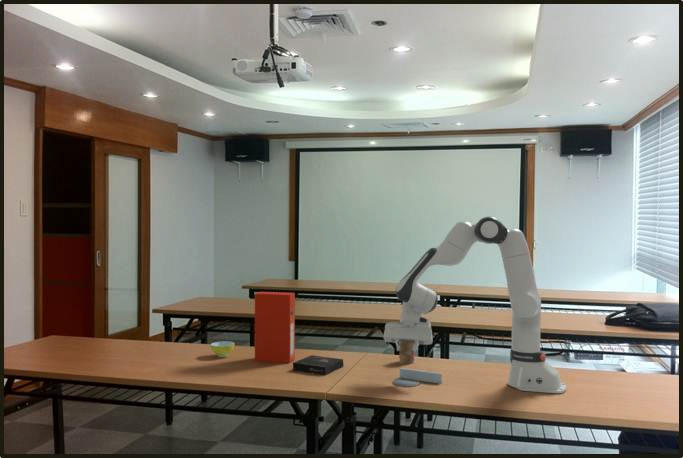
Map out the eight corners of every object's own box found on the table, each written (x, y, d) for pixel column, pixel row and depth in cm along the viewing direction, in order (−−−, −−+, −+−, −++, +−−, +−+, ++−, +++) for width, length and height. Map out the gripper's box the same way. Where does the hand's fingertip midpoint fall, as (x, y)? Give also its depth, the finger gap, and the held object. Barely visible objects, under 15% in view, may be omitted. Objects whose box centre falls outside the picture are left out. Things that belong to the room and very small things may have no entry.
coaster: (423, 381, 233) (423, 380, 233) (414, 388, 223) (414, 387, 223) (398, 378, 238) (398, 377, 238) (388, 384, 228) (388, 384, 228)
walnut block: (412, 361, 232) (412, 342, 232) (410, 364, 228) (410, 344, 228) (401, 360, 233) (401, 341, 233) (399, 363, 230) (399, 343, 229)
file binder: (289, 363, 263) (289, 294, 263) (254, 361, 267) (254, 293, 266) (294, 359, 271) (294, 292, 270) (260, 357, 274) (260, 291, 274)
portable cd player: (343, 367, 257) (343, 358, 257) (325, 376, 242) (325, 367, 242) (312, 363, 265) (312, 354, 265) (292, 371, 250) (292, 362, 250)
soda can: (413, 364, 262) (413, 338, 262) (398, 363, 264) (398, 337, 264) (414, 360, 269) (414, 335, 269) (399, 359, 271) (400, 334, 271)
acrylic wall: (442, 382, 232) (442, 372, 232) (440, 384, 230) (440, 374, 230) (401, 377, 240) (401, 367, 240) (399, 378, 238) (399, 369, 238)
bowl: (210, 359, 269) (210, 346, 269) (211, 354, 281) (211, 341, 281) (234, 358, 272) (234, 345, 272) (234, 353, 283) (234, 340, 283)
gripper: (385, 317, 240) (379, 344, 231) (433, 320, 234) (429, 348, 225) (387, 325, 245) (381, 353, 235) (434, 328, 239) (431, 357, 229)
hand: (405, 350), depth 230 cm, fingers closed on walnut block, 4 cm apart
